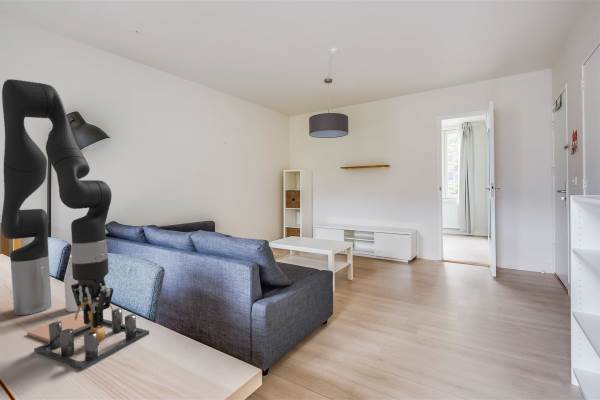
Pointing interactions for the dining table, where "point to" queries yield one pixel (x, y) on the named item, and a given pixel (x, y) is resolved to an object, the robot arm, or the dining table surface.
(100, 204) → the robot arm
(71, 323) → the terracotta tile
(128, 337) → the standoff field
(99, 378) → the dining table surface
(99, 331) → the figurine
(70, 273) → the white piece
